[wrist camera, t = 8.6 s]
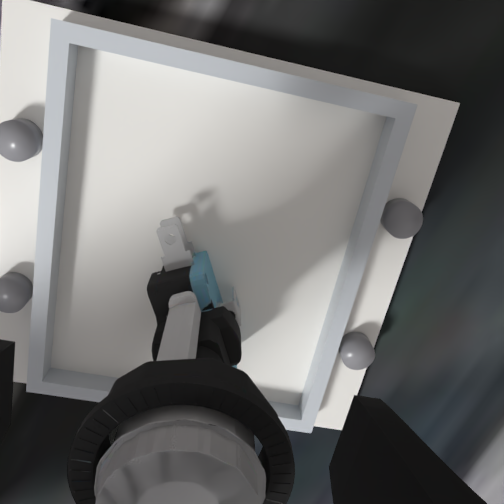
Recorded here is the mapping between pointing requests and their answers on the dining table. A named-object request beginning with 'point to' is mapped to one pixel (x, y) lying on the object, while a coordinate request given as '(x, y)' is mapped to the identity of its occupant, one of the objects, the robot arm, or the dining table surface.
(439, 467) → the robot arm
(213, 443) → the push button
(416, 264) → the dining table surface
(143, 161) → the tray
